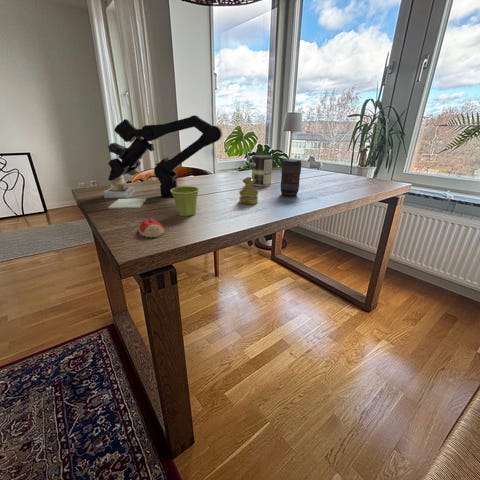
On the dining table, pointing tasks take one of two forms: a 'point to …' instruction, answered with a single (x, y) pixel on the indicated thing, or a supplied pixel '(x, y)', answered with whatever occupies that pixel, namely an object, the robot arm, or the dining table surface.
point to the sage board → (127, 203)
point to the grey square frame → (119, 193)
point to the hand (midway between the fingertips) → (114, 177)
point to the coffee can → (262, 169)
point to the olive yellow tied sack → (248, 192)
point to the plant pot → (185, 199)
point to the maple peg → (118, 183)
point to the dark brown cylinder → (290, 177)
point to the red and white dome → (151, 228)
